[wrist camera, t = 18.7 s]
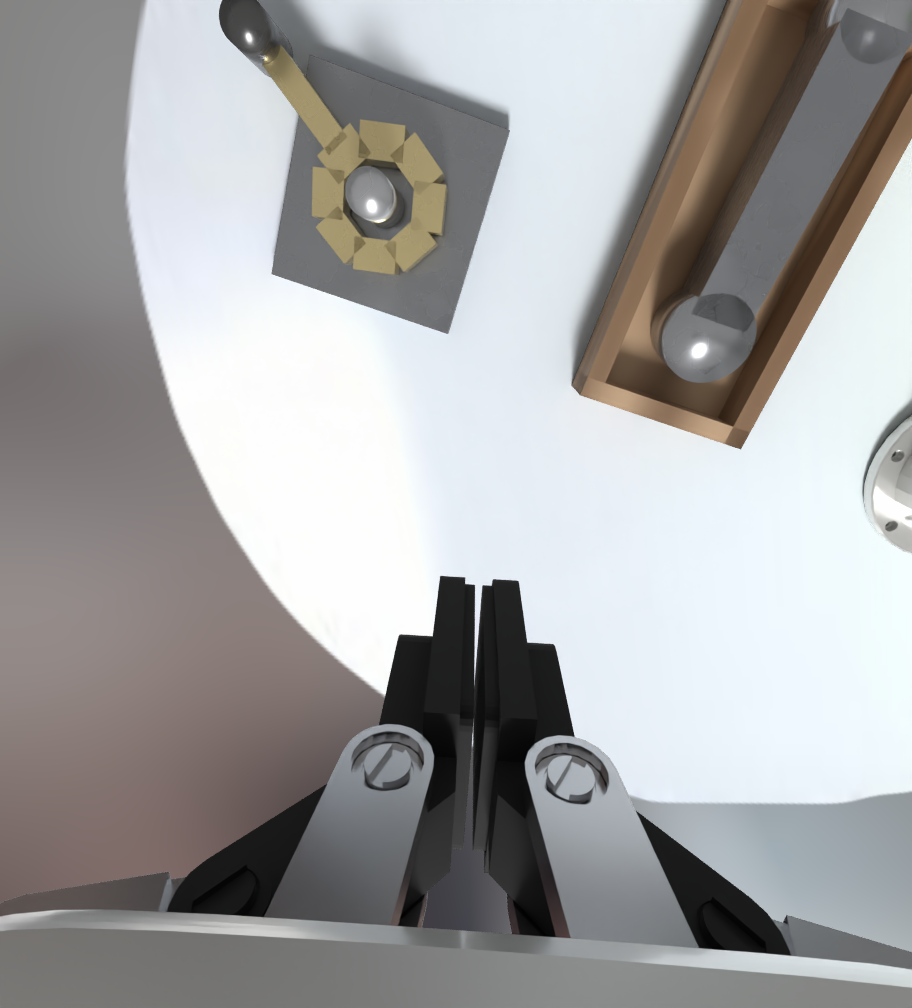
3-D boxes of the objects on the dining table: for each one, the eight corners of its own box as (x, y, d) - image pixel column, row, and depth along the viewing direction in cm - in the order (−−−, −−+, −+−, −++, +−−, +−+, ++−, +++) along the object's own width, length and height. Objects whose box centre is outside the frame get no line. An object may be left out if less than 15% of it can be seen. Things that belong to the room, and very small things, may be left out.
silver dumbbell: (825, -43, 26) (867, -73, 23) (919, -3, 27) (973, -29, 24) (636, 353, 36) (648, 367, 33) (707, 377, 37) (726, 393, 34)
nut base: (509, 134, 33) (516, 101, 27) (448, 332, 37) (443, 342, 31) (314, 61, 32) (276, 10, 26) (276, 273, 36) (236, 272, 30)
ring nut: (470, 216, 33) (470, 208, 29) (377, 298, 35) (364, 300, 31) (308, -21, 29) (280, -70, 25) (213, 86, 31) (173, 57, 27)
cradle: (922, 50, 31) (975, 23, 27) (718, 435, 39) (740, 449, 36) (737, -27, 30) (770, -65, 26) (571, 385, 38) (580, 395, 35)
